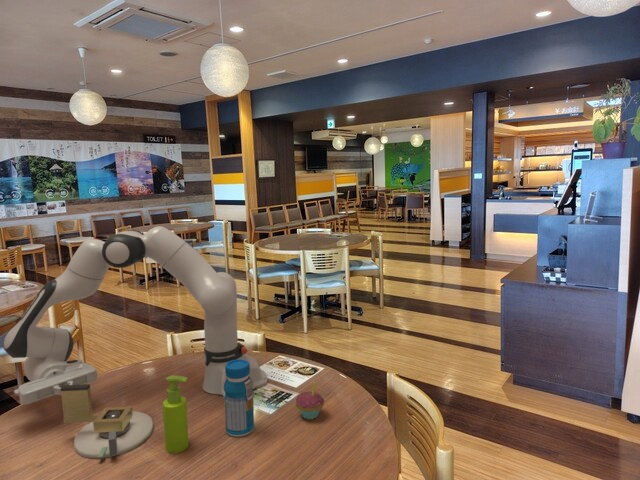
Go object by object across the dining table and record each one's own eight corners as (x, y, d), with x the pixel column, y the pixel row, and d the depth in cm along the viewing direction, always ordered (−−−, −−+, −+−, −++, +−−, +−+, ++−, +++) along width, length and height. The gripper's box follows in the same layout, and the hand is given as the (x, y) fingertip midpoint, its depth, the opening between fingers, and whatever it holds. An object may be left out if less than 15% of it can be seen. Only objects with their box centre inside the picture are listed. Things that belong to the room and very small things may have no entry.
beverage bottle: (229, 441, 118) (226, 372, 115) (221, 425, 125) (218, 361, 122) (258, 432, 121) (256, 366, 118) (249, 418, 129) (247, 355, 126)
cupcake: (328, 411, 132) (327, 375, 130) (316, 426, 124) (316, 387, 122) (303, 405, 135) (302, 370, 134) (290, 419, 128) (289, 382, 126)
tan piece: (132, 415, 124) (129, 377, 123) (122, 431, 117) (119, 390, 115) (72, 418, 123) (68, 380, 121) (58, 434, 116) (53, 393, 114)
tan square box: (134, 421, 125) (133, 405, 124) (123, 438, 117) (122, 421, 116) (106, 423, 124) (104, 407, 124) (93, 439, 116) (92, 423, 116)
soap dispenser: (185, 455, 112) (180, 383, 109) (161, 451, 113) (156, 381, 110) (196, 441, 118) (191, 373, 115) (173, 438, 119) (168, 371, 116)
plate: (161, 414, 131) (160, 396, 130) (136, 461, 110) (134, 439, 109) (94, 417, 130) (93, 399, 129) (55, 465, 108) (53, 444, 107)
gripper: (10, 380, 124) (24, 395, 115) (85, 357, 139) (103, 369, 130) (13, 400, 125) (27, 417, 116) (87, 375, 140) (105, 388, 131)
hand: (68, 391), depth 123 cm, fingers closed
